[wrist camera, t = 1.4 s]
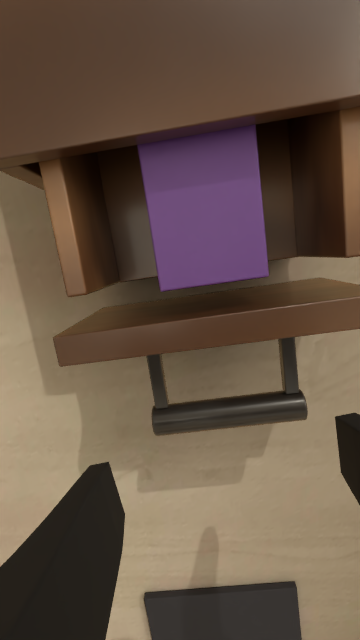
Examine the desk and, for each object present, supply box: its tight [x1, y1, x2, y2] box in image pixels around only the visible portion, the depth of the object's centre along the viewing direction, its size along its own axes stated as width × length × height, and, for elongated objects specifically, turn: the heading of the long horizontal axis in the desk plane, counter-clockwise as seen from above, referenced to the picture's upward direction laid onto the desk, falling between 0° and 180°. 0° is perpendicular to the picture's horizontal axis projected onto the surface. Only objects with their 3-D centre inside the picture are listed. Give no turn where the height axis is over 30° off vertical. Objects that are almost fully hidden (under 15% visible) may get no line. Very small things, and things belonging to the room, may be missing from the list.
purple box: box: [137, 125, 269, 292], centre depth 14 cm, size 4×8×6 cm, turn 8°
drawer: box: [39, 106, 360, 436], centre depth 14 cm, size 21×12×7 cm, turn 8°
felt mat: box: [144, 582, 301, 640], centre depth 24 cm, size 11×7×1 cm, turn 98°
